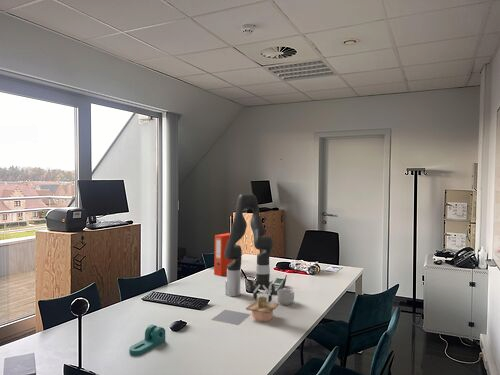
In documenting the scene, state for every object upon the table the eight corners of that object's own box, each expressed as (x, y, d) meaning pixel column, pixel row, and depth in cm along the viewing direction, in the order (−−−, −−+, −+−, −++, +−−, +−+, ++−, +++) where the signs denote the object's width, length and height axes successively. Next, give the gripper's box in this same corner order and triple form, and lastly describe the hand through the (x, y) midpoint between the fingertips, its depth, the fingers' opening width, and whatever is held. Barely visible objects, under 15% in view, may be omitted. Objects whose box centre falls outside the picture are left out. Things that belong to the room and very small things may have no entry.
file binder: (235, 272, 307) (235, 233, 306) (221, 276, 293) (221, 236, 292) (228, 270, 312) (228, 232, 310) (214, 274, 298) (214, 235, 297)
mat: (210, 320, 204) (210, 319, 204) (225, 310, 220) (225, 309, 220) (238, 325, 197) (238, 325, 197) (251, 314, 213) (251, 314, 213)
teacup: (293, 307, 226) (293, 294, 226) (275, 305, 228) (275, 292, 228) (295, 299, 240) (295, 287, 240) (278, 298, 242) (278, 286, 242)
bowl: (249, 319, 206) (249, 309, 205) (257, 313, 216) (257, 303, 215) (267, 323, 201) (268, 312, 201) (274, 316, 211) (274, 305, 211)
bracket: (155, 338, 181) (155, 322, 181) (165, 341, 178) (165, 325, 178) (126, 353, 166) (126, 336, 166) (136, 357, 162) (136, 339, 162)
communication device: (261, 294, 251) (261, 281, 251) (271, 284, 273) (271, 272, 273) (277, 296, 247) (278, 283, 247) (287, 286, 269) (287, 274, 269)
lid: (245, 309, 205) (246, 299, 204) (255, 301, 217) (255, 292, 217) (269, 313, 199) (269, 303, 199) (278, 305, 212) (278, 295, 212)
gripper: (248, 272, 207) (248, 300, 207) (272, 275, 201) (272, 304, 202) (253, 269, 214) (253, 296, 214) (277, 271, 208) (276, 300, 209)
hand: (262, 300), depth 208 cm, fingers open, 8 cm apart
